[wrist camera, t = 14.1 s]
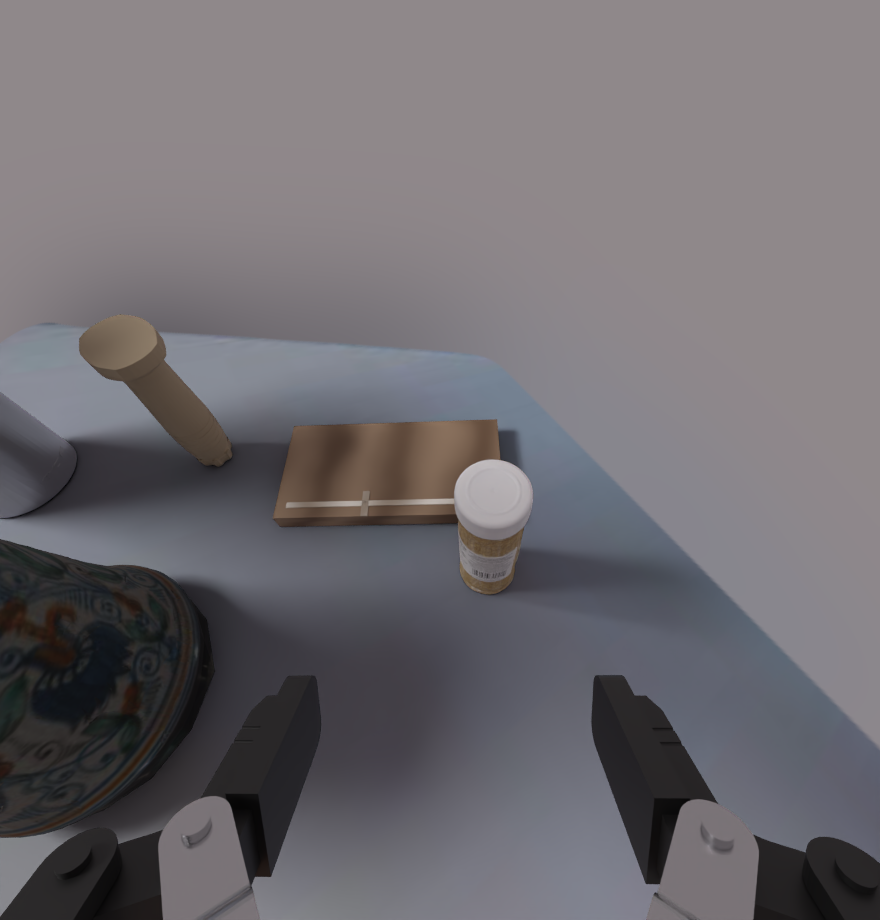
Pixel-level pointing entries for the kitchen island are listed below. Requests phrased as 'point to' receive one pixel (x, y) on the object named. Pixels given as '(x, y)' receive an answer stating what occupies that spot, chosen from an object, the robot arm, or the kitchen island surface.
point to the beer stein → (90, 683)
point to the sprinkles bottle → (491, 522)
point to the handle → (155, 383)
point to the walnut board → (379, 472)
